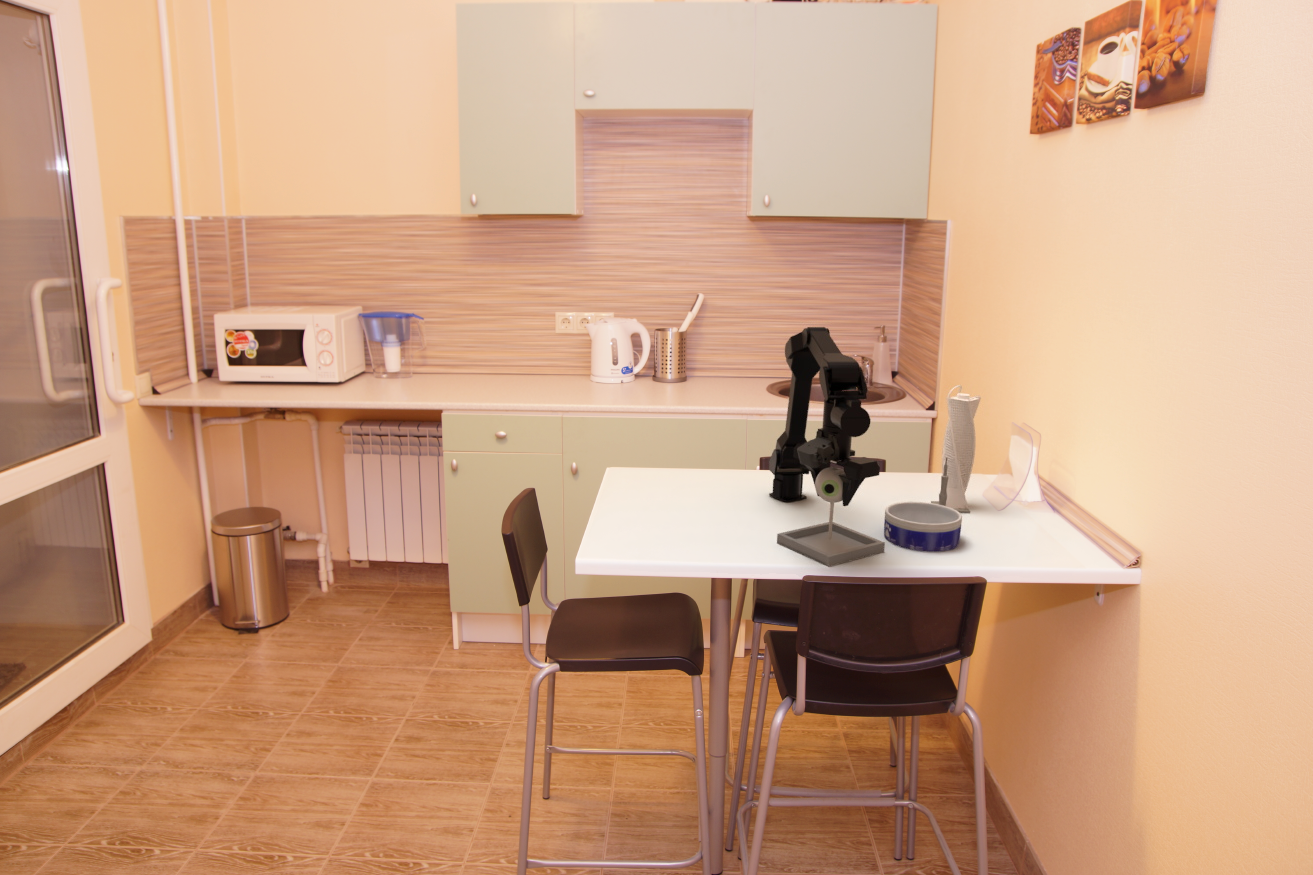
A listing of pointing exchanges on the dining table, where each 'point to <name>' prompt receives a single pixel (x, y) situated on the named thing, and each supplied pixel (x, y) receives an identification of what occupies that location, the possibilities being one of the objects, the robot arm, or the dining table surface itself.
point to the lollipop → (830, 489)
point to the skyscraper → (958, 451)
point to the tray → (830, 543)
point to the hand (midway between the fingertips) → (832, 501)
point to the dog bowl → (922, 526)
